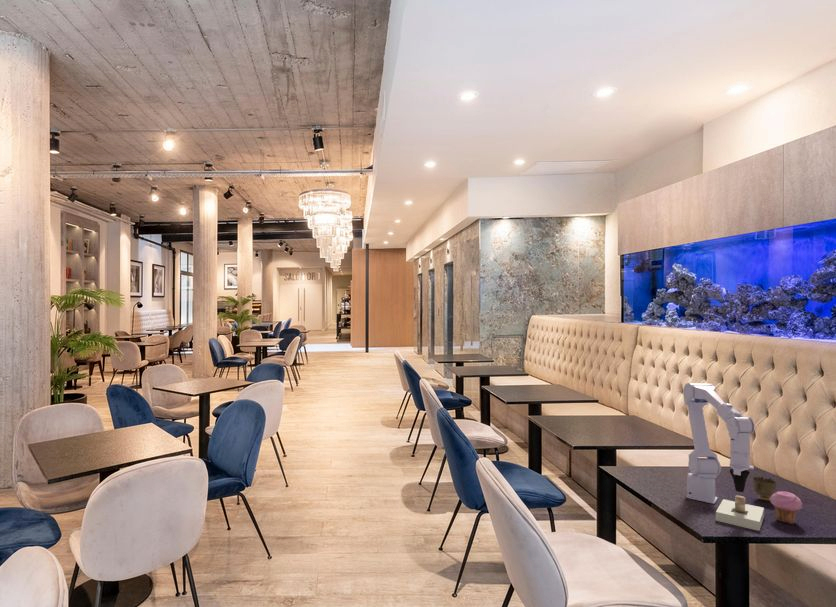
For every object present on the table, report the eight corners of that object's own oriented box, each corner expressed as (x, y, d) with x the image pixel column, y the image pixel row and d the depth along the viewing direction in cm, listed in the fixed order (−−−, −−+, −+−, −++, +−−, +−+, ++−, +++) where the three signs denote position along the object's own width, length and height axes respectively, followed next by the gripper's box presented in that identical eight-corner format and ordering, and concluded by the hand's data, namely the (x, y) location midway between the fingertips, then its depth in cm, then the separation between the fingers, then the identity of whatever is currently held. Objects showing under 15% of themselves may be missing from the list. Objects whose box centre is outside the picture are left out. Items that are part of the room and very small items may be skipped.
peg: (734, 520, 174) (734, 497, 174) (735, 517, 176) (735, 494, 177) (744, 522, 172) (744, 499, 172) (745, 520, 175) (745, 496, 175)
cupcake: (767, 520, 175) (768, 491, 175) (773, 514, 181) (773, 485, 181) (799, 528, 168) (799, 498, 168) (804, 521, 174) (804, 492, 175)
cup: (780, 504, 190) (780, 483, 190) (758, 502, 192) (758, 481, 192) (770, 497, 198) (770, 476, 198) (749, 495, 199) (749, 475, 199)
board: (715, 520, 174) (715, 511, 174) (723, 507, 186) (723, 499, 186) (759, 530, 166) (759, 521, 166) (764, 516, 178) (764, 507, 178)
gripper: (751, 458, 167) (751, 499, 166) (756, 449, 178) (755, 488, 178) (726, 454, 171) (726, 494, 171) (732, 446, 182) (732, 484, 182)
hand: (739, 491), depth 175 cm, fingers closed
